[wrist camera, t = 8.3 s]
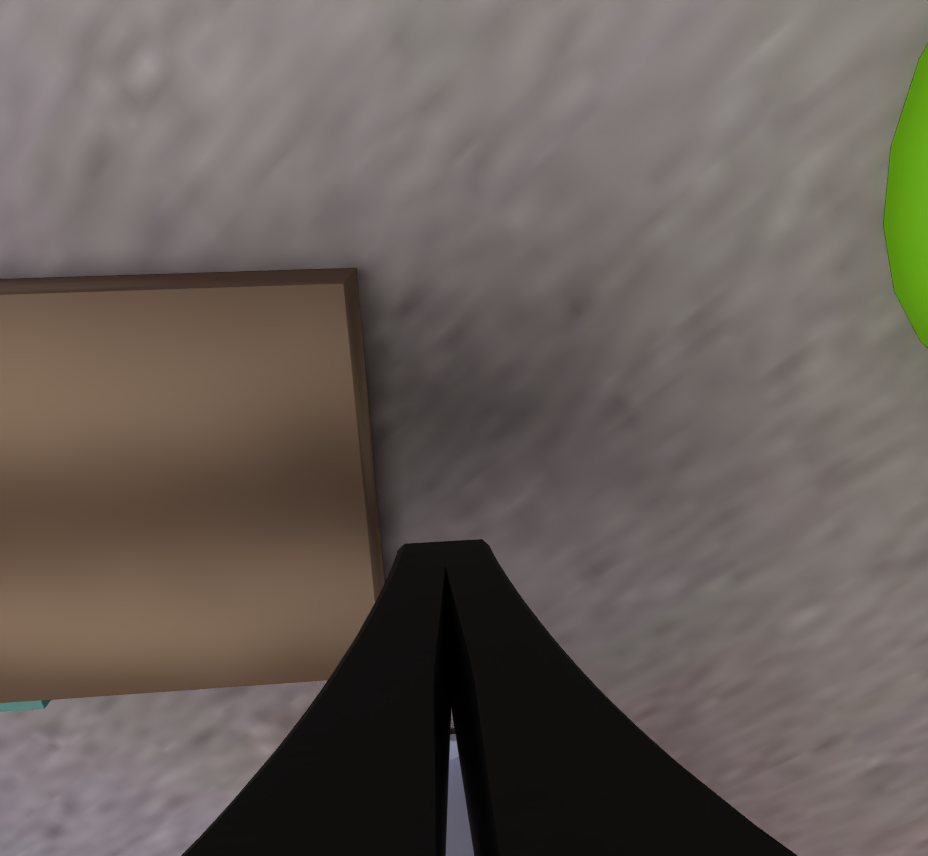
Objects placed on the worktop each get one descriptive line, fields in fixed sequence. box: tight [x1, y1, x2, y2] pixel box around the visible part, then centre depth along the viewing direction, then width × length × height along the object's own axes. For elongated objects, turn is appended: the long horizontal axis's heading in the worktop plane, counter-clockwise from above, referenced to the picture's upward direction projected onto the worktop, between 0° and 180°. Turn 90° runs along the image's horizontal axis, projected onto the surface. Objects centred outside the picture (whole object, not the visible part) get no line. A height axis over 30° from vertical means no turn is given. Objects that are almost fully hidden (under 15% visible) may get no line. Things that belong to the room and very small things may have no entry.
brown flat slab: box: [0, 268, 385, 703], centre depth 17 cm, size 12×12×3 cm
